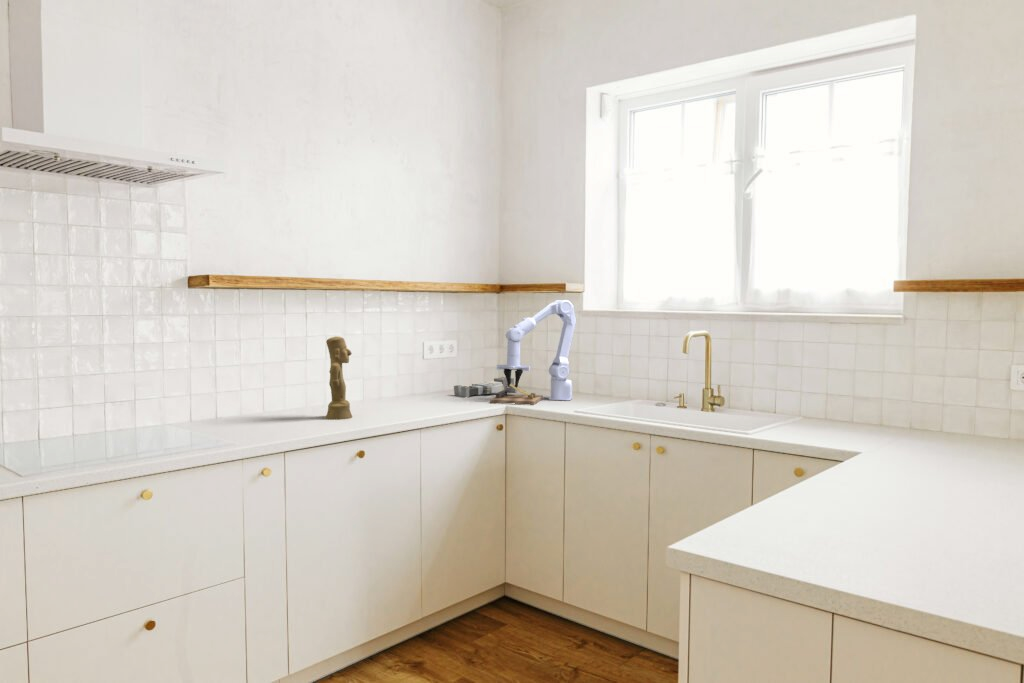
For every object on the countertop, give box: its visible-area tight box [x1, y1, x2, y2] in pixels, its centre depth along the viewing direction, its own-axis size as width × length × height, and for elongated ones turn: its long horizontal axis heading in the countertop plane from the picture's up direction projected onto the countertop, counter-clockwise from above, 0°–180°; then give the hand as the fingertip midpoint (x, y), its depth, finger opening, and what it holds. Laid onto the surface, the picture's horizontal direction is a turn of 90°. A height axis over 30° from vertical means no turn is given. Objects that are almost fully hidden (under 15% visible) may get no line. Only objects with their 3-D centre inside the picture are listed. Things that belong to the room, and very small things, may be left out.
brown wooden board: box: [489, 390, 544, 406], centre depth 322 cm, size 19×20×3 cm
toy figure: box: [453, 376, 515, 398], centre depth 345 cm, size 11×7×30 cm
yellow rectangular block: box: [509, 383, 534, 397], centre depth 321 cm, size 11×3×1 cm, turn 77°
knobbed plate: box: [506, 386, 518, 394], centre depth 329 cm, size 4×4×3 cm
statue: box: [325, 336, 353, 420], centre depth 273 cm, size 11×10×30 cm
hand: (512, 386), depth 322 cm, fingers closed on yellow rectangular block, 3 cm apart
